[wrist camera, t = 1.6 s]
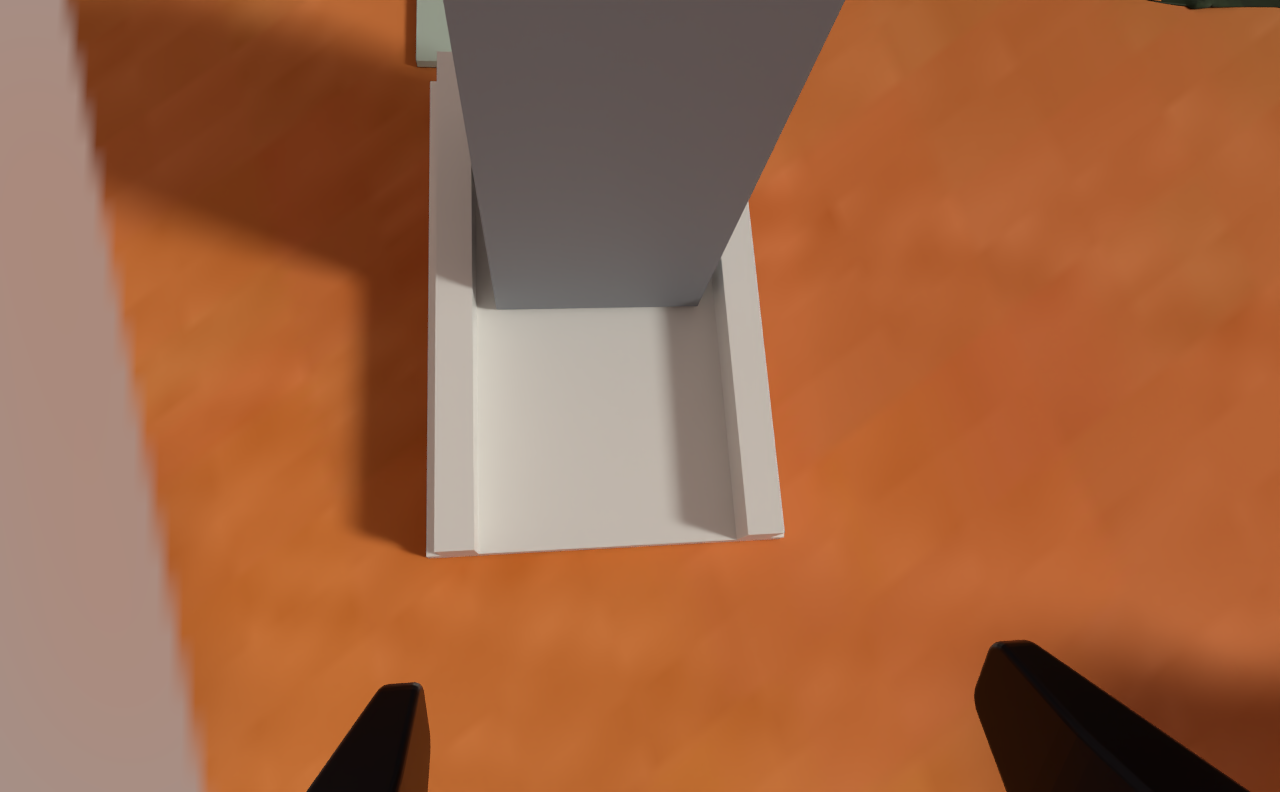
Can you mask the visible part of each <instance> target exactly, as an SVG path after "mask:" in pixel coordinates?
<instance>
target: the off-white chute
mask: <svg viewBox="0 0 1280 792" xmlns="http://www.w3.org/2000/svg"><path fill="white" fill-rule="evenodd" d="M784 533H785V531H784V521H783V512H782V503H781V494H780V485H779V476H778V467H777V458H776V449H775V440H774V431H773V422H772V413H771V404H770V394H769V385H768V376H767V367H766V358H765V349H764V340H763V331H762V322H761V313H760V304H759V295H758V286H757V277H756V267H755V258H754V249H753V240H752V231H751V222H750V213H749V204H748V202H747V204H746V207H745V209H744V211H743V213H742V215H741V217H740V219H739V221H738V223H737V225H736V227H735V229H734V231H733V234H732V236H731V238H730V240H729V242H728V244H727V246H726V248H725V250H724V252H723V254H722V256H721V258H720V260H719V263H718V265H717V267H716V269H715V271H714V273H713V275H712V277H711V279H710V281H709V283H708V285H707V287H706V290H705V292H704V294H703V296H702V298H701V300H700V302H699V304H698V306H682V307H624V308H566V309H508V310H497V309H496V304H495V298H494V292H493V286H492V280H491V275H490V269H489V263H488V257H487V252H486V246H485V240H484V234H483V228H482V223H481V217H480V211H479V205H478V200H477V194H476V188H475V182H474V177H473V171H472V165H471V159H470V153H469V148H468V142H467V136H466V130H465V125H464V119H463V113H462V107H461V101H460V96H459V90H458V84H457V78H456V73H455V67H454V61H453V55H452V52H440V51H437V81H430V159H429V280H428V401H427V521H426V557H428V558H444V557H462V556H480V555H498V554H516V553H534V552H552V551H570V550H588V549H606V548H624V547H642V546H660V545H678V544H696V543H714V542H732V541H750V540H768V539H780V538H783V537H784Z"/></svg>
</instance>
